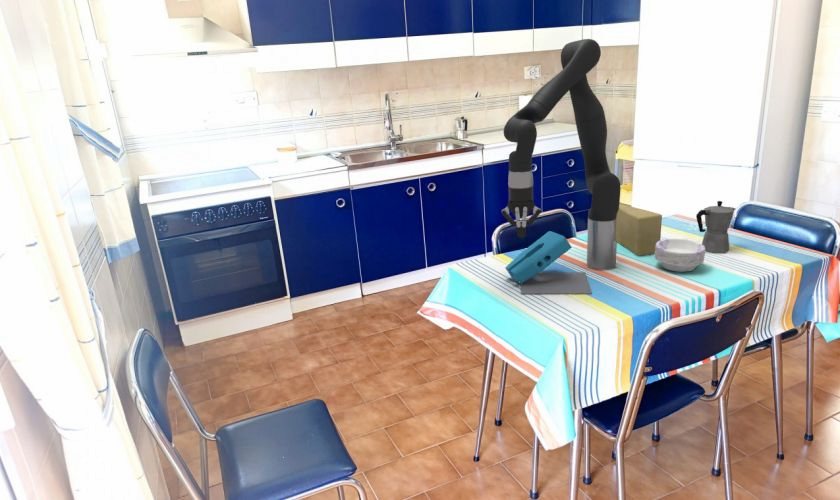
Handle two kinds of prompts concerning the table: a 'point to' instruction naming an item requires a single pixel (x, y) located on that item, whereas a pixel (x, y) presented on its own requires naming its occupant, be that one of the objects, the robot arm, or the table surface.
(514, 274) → the block
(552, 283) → the mat
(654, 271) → the table surface
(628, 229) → the tan rectangular box
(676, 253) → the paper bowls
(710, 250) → the coffeepot
